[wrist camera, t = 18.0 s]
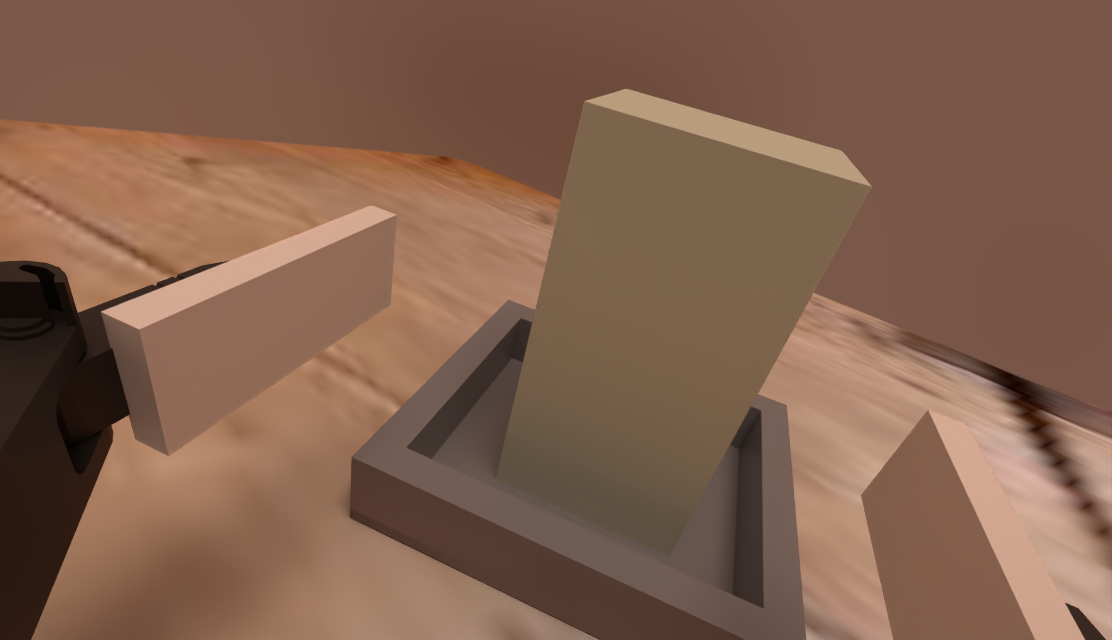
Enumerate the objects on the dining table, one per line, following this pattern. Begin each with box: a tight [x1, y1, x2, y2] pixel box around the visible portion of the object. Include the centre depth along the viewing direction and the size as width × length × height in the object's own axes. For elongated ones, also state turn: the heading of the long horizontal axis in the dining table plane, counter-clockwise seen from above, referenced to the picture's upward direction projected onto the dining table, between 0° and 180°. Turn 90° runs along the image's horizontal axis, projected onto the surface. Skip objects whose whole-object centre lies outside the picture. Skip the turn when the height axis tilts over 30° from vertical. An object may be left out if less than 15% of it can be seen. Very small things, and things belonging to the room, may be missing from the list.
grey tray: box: [350, 300, 806, 640], centre depth 21 cm, size 14×12×3 cm
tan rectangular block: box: [496, 89, 872, 556], centre depth 18 cm, size 7×5×14 cm
